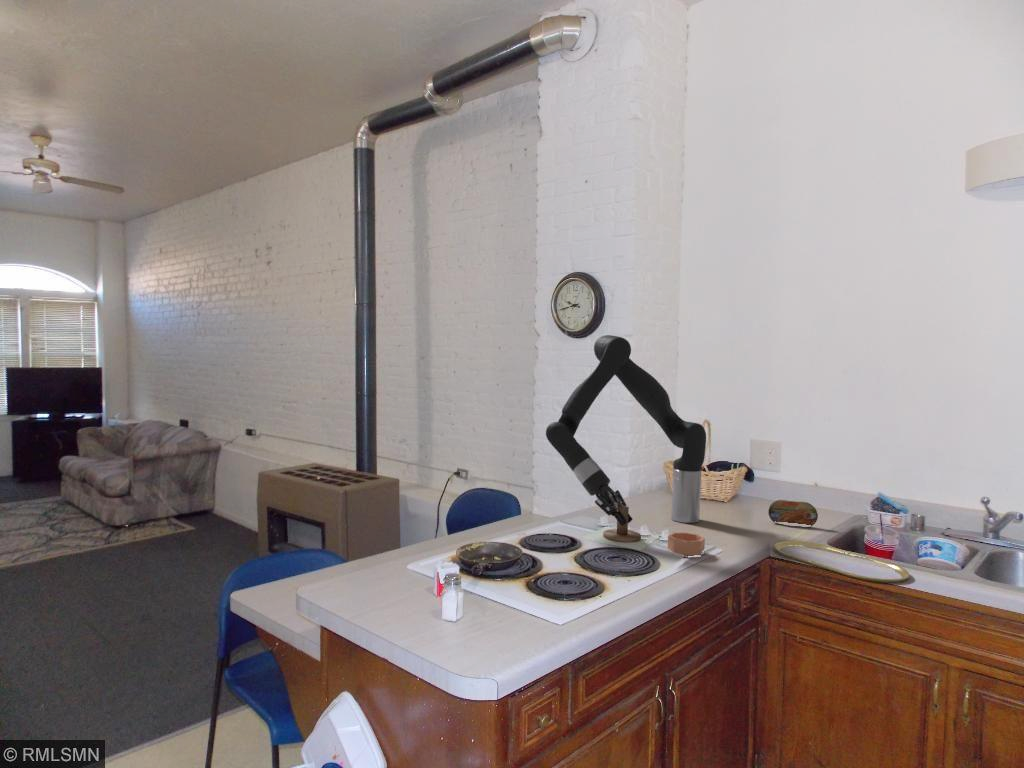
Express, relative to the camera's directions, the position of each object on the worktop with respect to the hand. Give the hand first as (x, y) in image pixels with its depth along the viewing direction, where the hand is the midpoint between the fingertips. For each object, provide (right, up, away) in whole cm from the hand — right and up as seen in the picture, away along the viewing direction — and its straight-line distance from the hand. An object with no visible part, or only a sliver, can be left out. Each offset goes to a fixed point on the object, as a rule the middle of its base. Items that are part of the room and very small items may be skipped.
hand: (627, 522), depth 186 cm
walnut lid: (-1, -4, +1) cm, 5 cm away
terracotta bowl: (+15, -6, -9) cm, 18 cm away
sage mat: (-2, -5, +1) cm, 6 cm away
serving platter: (+55, -8, -13) cm, 57 cm away
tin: (+60, -7, +27) cm, 66 cm away
